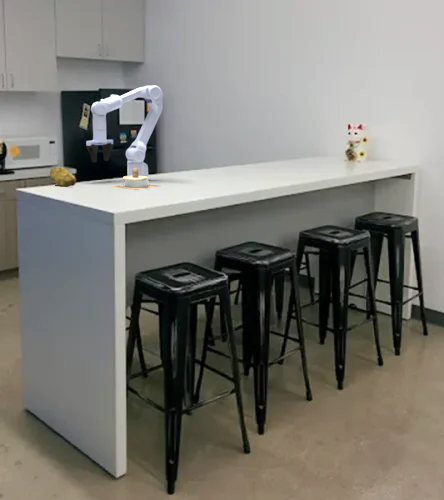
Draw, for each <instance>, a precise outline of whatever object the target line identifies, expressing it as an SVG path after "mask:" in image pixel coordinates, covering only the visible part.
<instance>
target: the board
mask: <svg viewBox="0 0 444 500" xmlns="http://www.w3.org/2000/svg"><path fill="white" fill-rule="evenodd" d="M111 187H112V188H118V189H126V190H127V189H129V190H135V191H136V190H137V191H139V190H145V189H150V188H157V187H158V188H159V187H160V185H158V184H149V183H148V187H144V188H131V187H126V186H125V184H119V185H113V186H111Z"/></svg>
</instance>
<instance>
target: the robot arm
mask: <svg viewBox="0 0 444 500" xmlns="http://www.w3.org/2000/svg"><path fill="white" fill-rule="evenodd" d="M109 95H110V96H109V97H106V98H104V99H103V98H101V99H100V101H95V102H93V103H92V105H91V108H90V111H91V113H92V135H93V136H92V140H86V141H85V142H86V143H85V144H86V145H85V147H86V149H87V151H88V153H89V156H90V159H91V163H97V161H98V156H97V155H98V149H99V146H101V148H102V152H103V160H104V162H109V161H110V157H111V153H112V151H113V149H114V146H115V145H114V139H107V114H108V113H110V112H113V111H114V110H115V111H116V110H117V109H120V108H122V106H123V104H125V103H127V102H129V101H132V100H135V99H137V98H142V99H144V100H145V101H146V102H147V104H148V107H149V111H148V112H147V115H146V117H145V120H143V123H142V125H141V128H140V129H139V132H138V133H137V136H136V138H135V140H134V141H133V142H132V143H131V144H130V146H129V147H128V148H127V149H126V150H125V158H126V159H127V163H126V167H127V169H126V170H127V171H126V172H127V175H126V176H132V169H133V168H138V169H139V176H146V177H148V178H149V166H148V164H147V162H146V163H145V162H144V160H145V158H146V151H147V144H148V142H149V139H150V137H151V135H152V134H153V132H154V129H155V127H156V125H157V122H158V120H159V118H160V117H161V115H162V112H163V109H164V106H163V103H164V102H163V97H164V93H163V91H162V89H161V87H160V86H158V85H156V84H155V85H144V86H141V87H137V88H135V89H132V90H129V92H126V93H124V94H122V95H118V94H109Z"/></svg>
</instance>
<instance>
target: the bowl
mask: <svg viewBox="0 0 444 500" xmlns="http://www.w3.org/2000/svg"><path fill="white" fill-rule="evenodd" d="M148 184H149V179H148V180H141V181H131V180H124V185H125V186H126V187H131V188H144V187H148Z"/></svg>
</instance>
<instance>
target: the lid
mask: <svg viewBox="0 0 444 500" xmlns="http://www.w3.org/2000/svg"><path fill="white" fill-rule="evenodd" d="M122 179H123V180H124V181H125V180H131V181H141V180H148V181H149V176H148V177H146V176H139V169H138V168H133V169H132V176H127V175H125V176H123V177H122Z"/></svg>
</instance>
